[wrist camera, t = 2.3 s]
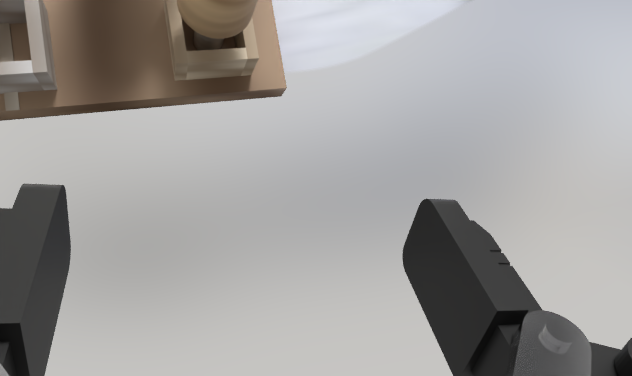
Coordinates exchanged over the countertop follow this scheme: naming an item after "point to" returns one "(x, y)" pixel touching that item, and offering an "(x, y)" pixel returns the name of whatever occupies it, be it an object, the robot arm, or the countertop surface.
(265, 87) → the plank
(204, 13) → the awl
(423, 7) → the countertop surface
